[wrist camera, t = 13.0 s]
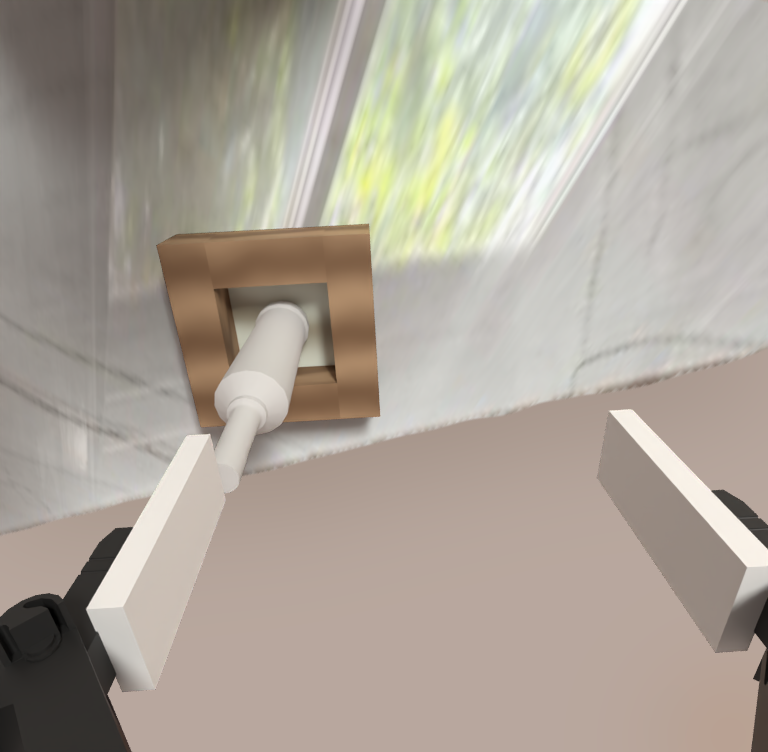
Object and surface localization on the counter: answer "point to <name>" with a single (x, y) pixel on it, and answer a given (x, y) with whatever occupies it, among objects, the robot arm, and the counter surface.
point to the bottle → (258, 386)
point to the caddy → (270, 284)
